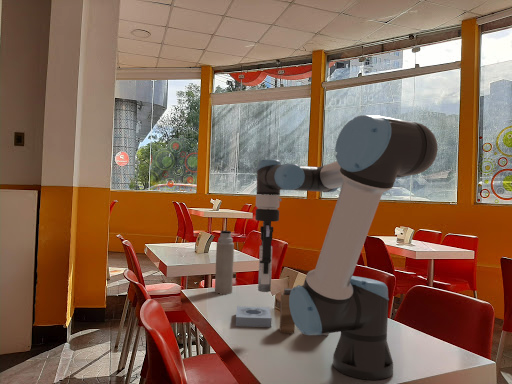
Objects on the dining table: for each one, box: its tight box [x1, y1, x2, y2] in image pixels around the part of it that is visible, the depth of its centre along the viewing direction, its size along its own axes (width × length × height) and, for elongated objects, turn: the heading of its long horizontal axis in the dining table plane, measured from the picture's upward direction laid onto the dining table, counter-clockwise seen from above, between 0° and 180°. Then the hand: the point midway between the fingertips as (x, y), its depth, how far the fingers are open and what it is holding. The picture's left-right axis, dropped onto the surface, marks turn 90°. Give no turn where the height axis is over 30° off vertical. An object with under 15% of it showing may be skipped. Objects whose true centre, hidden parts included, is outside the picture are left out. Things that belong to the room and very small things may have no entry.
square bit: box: [279, 287, 296, 334], centre depth 132 cm, size 4×4×14 cm
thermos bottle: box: [214, 230, 235, 295], centre depth 184 cm, size 8×8×28 cm
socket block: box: [235, 305, 272, 328], centre depth 142 cm, size 14×12×3 cm
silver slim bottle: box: [257, 240, 273, 293], centre depth 127 cm, size 4×4×16 cm
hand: (264, 282), depth 127 cm, fingers closed on silver slim bottle, 4 cm apart
